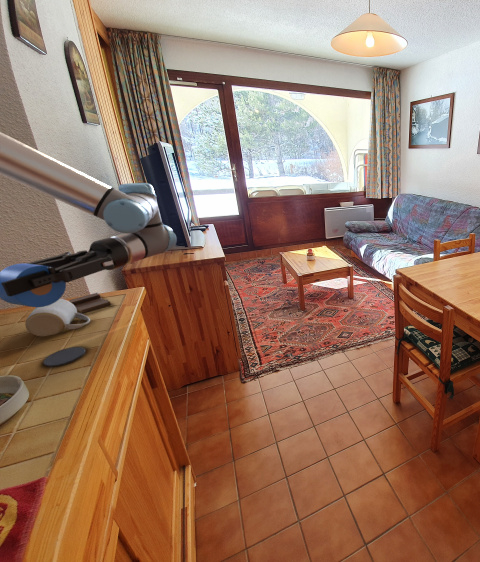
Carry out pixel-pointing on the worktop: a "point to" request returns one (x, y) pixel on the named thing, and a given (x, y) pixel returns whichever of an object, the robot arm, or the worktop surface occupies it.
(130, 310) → the worktop surface
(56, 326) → the ceramic mug
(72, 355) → the coaster
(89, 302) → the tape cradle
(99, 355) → the worktop surface
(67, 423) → the worktop surface
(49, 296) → the tape roll
